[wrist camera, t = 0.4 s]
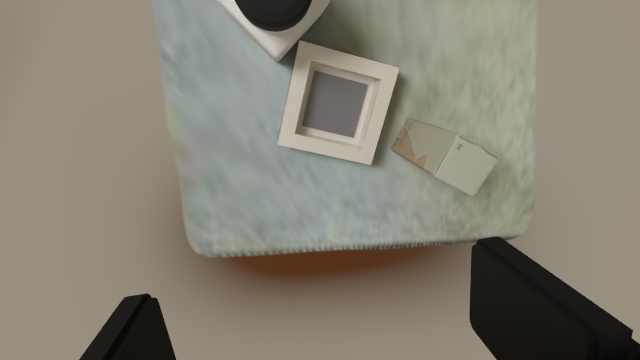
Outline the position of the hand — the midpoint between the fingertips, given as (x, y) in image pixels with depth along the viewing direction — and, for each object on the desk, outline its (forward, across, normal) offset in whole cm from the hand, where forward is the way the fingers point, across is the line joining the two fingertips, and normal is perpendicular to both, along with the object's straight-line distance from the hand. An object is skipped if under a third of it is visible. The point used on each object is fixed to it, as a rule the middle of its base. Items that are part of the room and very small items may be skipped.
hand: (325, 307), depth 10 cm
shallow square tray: (+29, -5, -3) cm, 30 cm away
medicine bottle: (+29, 0, -13) cm, 32 cm away
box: (+29, -15, +2) cm, 33 cm away
